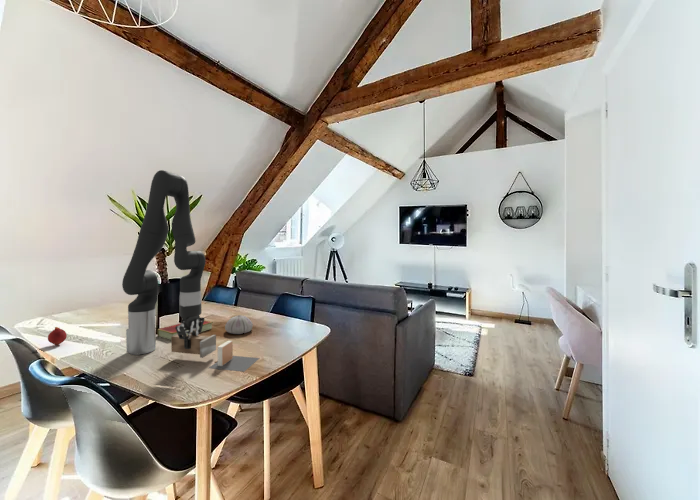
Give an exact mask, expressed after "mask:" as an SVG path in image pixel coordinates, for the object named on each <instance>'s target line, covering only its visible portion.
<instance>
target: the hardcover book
mask: <svg viewBox="0 0 700 500" xmlns="http://www.w3.org/2000/svg"><path fill="white" fill-rule="evenodd" d="M213 323H214V322H213V321H209V320H207V319H206V320H205V319H204V323H203V327H202V331H201V333H203V332H206V331H209V330H212V327H213V325H212V324H213ZM180 324H181V322H180V323H176V324H173V325H170V326H169V325H168V326H165V327H161V328H158V329H157V333H156V334H157V337H161V338H164V339H166V338H167V339H166V340H170V341H171V337H172V336H174V335H176V334H177V331H176V329H175V327H176V326H179V325H180ZM199 327H200V326H199ZM198 330H199V329H198ZM187 331H189V330H187ZM186 335H188V333H187V334H186Z"/></svg>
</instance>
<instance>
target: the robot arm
mask: <svg viewBox="0 0 700 500" xmlns="http://www.w3.org/2000/svg"><path fill="white" fill-rule="evenodd" d="M189 192H190V191H189V184H188V181H187V179H186V178H185V177H184V176H182V175H181V174H178V173H175V172H172V171H167V170H163V169H162V170H158V171H156V173H155V174H154V175H153V177H152V180H151V184H150V190H149V195H148V202H147V206H146V209H145V213H144V217H143V221H142V223H141V227H140V229H139V233H138V236H137V241H136V244H135V247H134V250H133V253H132V255H131V256H132V257H131V259H130V261H129V264H128V266H127V268H126V270H125V272H124V275H123V278H122V285H121V286H122V290H123V292H124V293H125V294H126V295H130V296H136V298H135V299H133V300H132V301H131V302H130V303H128V305H127V314H128V315H127V319H128V327H127V328H126V331H125V332H126V333H125V337H126V339H125V340H126V341H125V344H126V353H127V354H129V355H133V356H139V355H145V354H149V353H152V352H153V351H155V350H156V344H157V343H156V341H157V337H156V334H157V333H156V328H157V327H156V305H157V302H158V294H159V293H158V292H159V291H158V290H159V280H158V276H157V273H155V272H154V271H152V270H150V269H148V266H149V264H150V263H151V261H152V260H153V259H154V258H155V257H156V256H157V255H158V254H159V253H160V251H161V250H162V249H163V247H164V246H165V244H166V240H167V238H168V234H169V231H170V229H169V224H168V220H167V217H166V214H165V209H164V208H165V202H166V197H171V198H173V199H174V201H175V206H176V207H175V213H174V215H173V218H172V220H171V230H172V235H173V239H174V253H173V254H174V256H173V262H174V265H175V268H177V269H179V270H181V271H188V270H190V271H189V273H188V274H186V275H183V276H182V277H180V279H179V297H178V300H179V301H178V303H179V311H178V312H179V317H181V321H180V323H181V324H180V323H179V324H180V325H179V326H176V327H175V329H176V331H177V334H178V336H179V339H184V348H185V349H190V348H191V335H194V336H199V335H200V334H201V333H202V332H201V331H202V327H203V323H204V320H205V317H201V314H202V291H201V288H202V286H201V285H202V284H201V283H202V282H201V281H202V277H203V274H204V270H205V266H206V256H205V254H204V253H203V252H202V251H201V250H188V248H187V247H191V246H193V245H194V244H195V243H196V237H195V232H194V229H193V225H192V220H191V219H192V218H191V210H190V194H189ZM147 269H148V270H147ZM199 326H200V327H199ZM198 329H199V330H198ZM187 330H189V331H187ZM187 333H188V336H187V335H186V334H187ZM182 335H183V336H182Z"/></svg>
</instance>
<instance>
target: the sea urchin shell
mask: <svg viewBox="0 0 700 500" xmlns="http://www.w3.org/2000/svg"><path fill="white" fill-rule="evenodd" d="M253 324H254V323H253V322H252V320H251V319H250V318H249V317H247V316H246V315H242V314H241V315H235V316H233V317H231V318H229V320H227V322H226V323H225V326H224V329H225V332H227V334H233V335H242V334H243V333H244V334H246V333H249V332H251V330H252V329H253V327H254V325H253Z"/></svg>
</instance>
